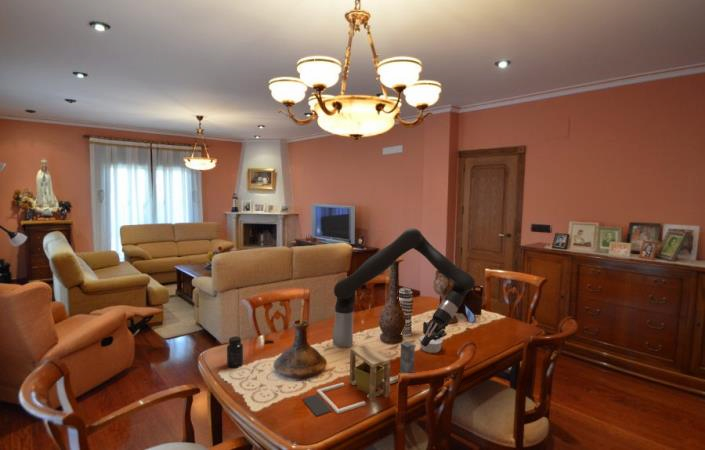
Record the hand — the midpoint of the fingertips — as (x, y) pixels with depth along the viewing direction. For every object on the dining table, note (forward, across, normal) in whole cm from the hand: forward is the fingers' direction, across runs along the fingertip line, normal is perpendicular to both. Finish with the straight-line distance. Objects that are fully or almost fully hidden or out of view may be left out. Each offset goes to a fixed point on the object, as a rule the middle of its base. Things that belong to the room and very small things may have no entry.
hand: (423, 345), depth 159 cm
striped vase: (-7, -40, +25) cm, 47 cm away
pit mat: (+44, 0, -27) cm, 52 cm away
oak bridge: (+28, 0, -11) cm, 30 cm away
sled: (+22, 0, -5) cm, 22 cm away
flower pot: (+28, 0, -11) cm, 30 cm away
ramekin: (-6, -17, +24) cm, 30 cm away
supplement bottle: (+56, -46, -39) cm, 82 cm away
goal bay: (+37, 0, -20) cm, 42 cm away
